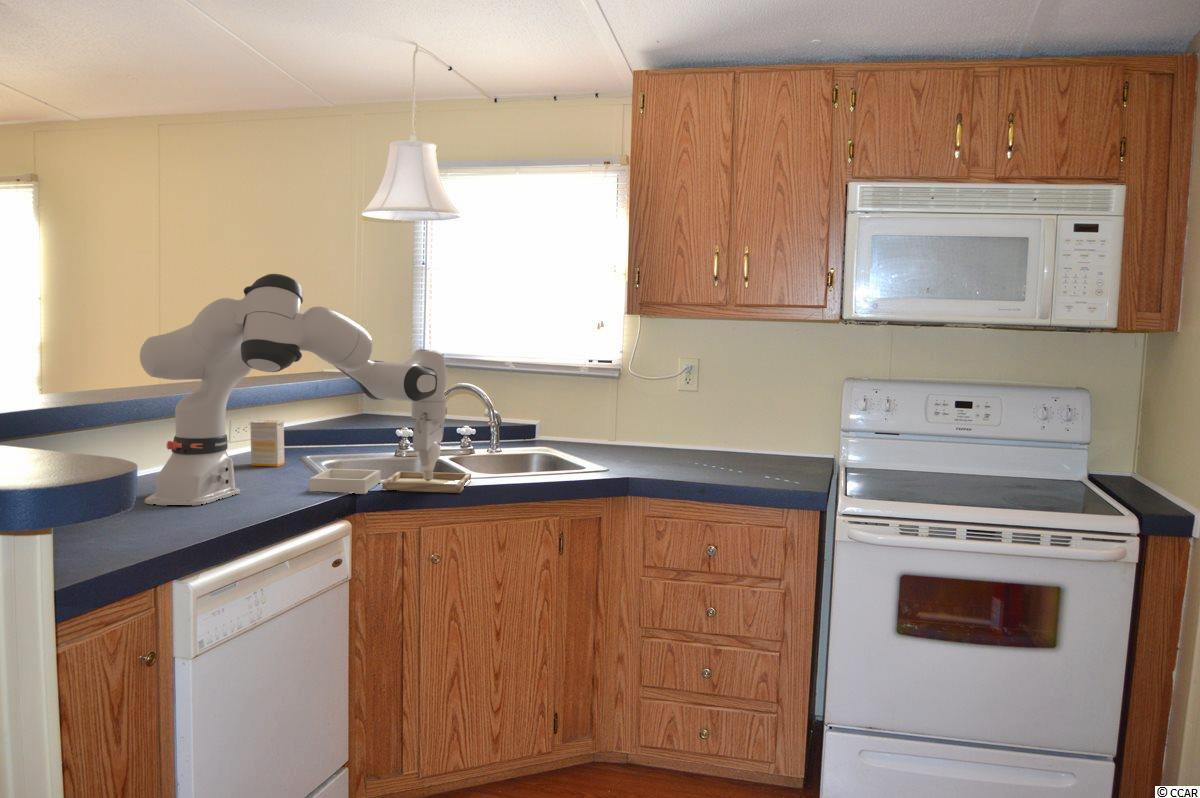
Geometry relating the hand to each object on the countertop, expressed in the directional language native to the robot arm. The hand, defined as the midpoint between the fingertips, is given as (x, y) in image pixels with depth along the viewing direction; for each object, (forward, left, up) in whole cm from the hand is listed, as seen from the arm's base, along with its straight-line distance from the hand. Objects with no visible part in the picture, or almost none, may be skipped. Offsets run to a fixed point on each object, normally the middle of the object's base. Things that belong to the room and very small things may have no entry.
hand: (427, 463), depth 229 cm
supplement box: (+22, +52, -6) cm, 57 cm away
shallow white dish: (-6, +20, -6) cm, 22 cm away
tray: (0, 0, -6) cm, 6 cm away
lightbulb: (0, 0, -5) cm, 5 cm away
